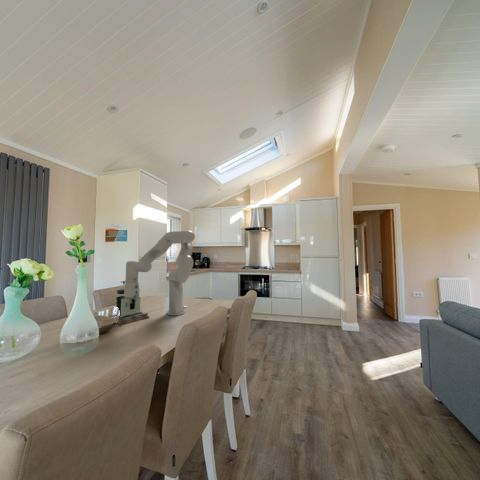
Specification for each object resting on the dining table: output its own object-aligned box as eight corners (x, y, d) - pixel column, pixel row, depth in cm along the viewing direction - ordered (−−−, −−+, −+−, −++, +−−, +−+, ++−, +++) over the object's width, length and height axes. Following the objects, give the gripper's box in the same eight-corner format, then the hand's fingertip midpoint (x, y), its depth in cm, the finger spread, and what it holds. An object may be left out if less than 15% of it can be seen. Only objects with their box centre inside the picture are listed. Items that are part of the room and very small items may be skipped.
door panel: (137, 311, 162) (138, 296, 163) (140, 312, 161) (140, 296, 161) (120, 315, 152) (121, 299, 153) (123, 316, 151) (123, 299, 151)
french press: (120, 312, 176) (121, 280, 177) (133, 312, 175) (134, 280, 176) (110, 316, 164) (112, 282, 165) (124, 316, 164) (125, 282, 165)
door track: (138, 315, 168) (139, 311, 168) (149, 317, 162) (149, 313, 162) (110, 322, 151) (110, 317, 151) (120, 325, 145) (120, 320, 145)
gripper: (144, 280, 157) (143, 309, 156) (129, 278, 165) (128, 306, 164) (134, 281, 150) (133, 311, 149) (119, 279, 159) (118, 308, 158)
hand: (130, 308), depth 157 cm, fingers closed on door panel, 2 cm apart
